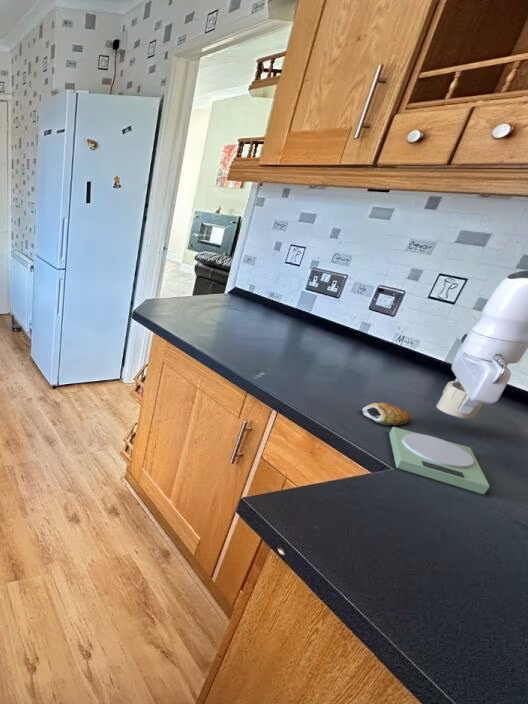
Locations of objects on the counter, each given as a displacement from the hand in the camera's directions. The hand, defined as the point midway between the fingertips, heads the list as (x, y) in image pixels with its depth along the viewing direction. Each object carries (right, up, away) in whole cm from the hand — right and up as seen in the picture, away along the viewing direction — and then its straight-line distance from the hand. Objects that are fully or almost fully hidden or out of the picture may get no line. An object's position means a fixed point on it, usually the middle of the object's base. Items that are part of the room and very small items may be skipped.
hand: (459, 404), depth 94 cm
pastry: (-11, -4, +7) cm, 14 cm away
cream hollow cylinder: (0, -2, +1) cm, 2 cm away
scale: (-14, -12, -8) cm, 20 cm away
